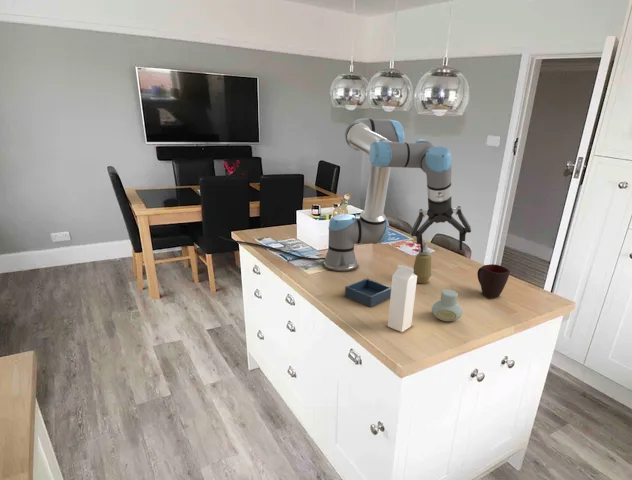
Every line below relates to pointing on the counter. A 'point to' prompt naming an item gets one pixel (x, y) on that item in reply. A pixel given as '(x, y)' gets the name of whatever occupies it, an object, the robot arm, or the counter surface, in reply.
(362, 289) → the blue square tray
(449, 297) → the air freshener
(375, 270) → the counter surface
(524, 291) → the counter surface
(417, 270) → the squeeze bottle
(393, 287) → the milk
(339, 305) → the counter surface
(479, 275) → the cup
